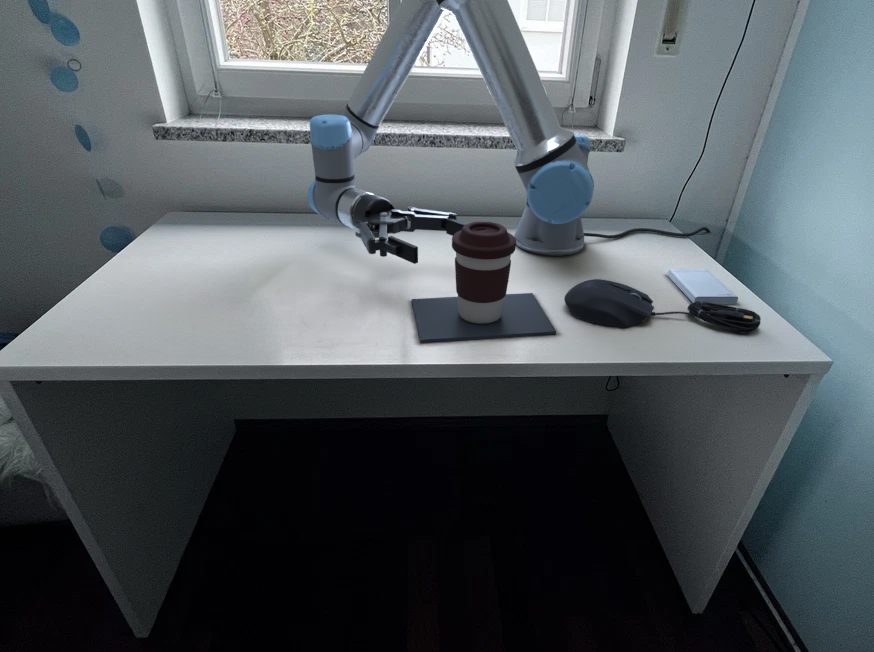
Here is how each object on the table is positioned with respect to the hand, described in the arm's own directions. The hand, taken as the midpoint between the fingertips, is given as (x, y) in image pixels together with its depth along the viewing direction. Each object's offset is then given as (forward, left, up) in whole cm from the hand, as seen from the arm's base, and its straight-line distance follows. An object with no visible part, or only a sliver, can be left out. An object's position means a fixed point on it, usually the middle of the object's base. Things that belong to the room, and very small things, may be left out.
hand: (446, 244), depth 91 cm
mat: (-5, +7, -10) cm, 13 cm away
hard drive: (-49, +1, -11) cm, 50 cm away
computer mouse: (-35, +11, -11) cm, 38 cm away
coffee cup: (-5, +7, -10) cm, 13 cm away
